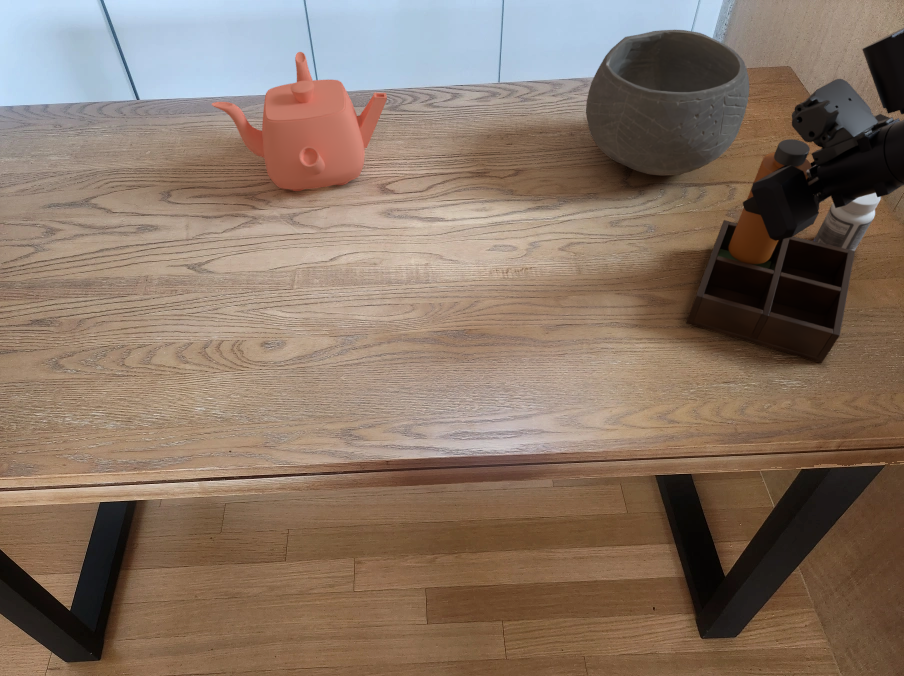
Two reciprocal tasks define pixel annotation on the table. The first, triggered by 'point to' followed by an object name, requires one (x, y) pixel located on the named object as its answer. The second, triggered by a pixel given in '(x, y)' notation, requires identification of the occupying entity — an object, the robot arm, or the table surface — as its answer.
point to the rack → (776, 295)
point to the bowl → (667, 101)
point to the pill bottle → (848, 222)
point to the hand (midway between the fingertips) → (759, 197)
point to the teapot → (309, 131)
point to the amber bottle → (750, 230)
